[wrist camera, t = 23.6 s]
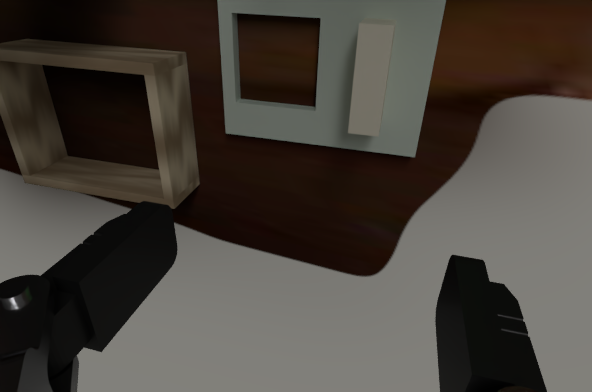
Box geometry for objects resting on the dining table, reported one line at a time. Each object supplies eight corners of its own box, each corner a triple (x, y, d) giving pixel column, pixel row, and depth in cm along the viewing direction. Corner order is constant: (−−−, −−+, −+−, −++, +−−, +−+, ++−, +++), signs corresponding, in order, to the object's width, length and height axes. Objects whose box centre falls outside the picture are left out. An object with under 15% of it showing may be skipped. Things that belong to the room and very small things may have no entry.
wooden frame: (26, 38, 40) (-24, 47, 36) (185, 52, 37) (153, 63, 32) (62, 162, 47) (25, 182, 43) (199, 183, 44) (174, 208, 39)
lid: (221, -32, 32) (191, -33, 28) (449, -24, 29) (456, -24, 24) (230, 129, 39) (207, 148, 35) (414, 152, 36) (415, 177, 31)
